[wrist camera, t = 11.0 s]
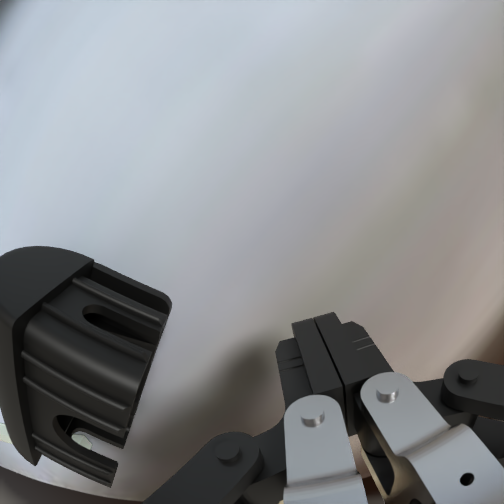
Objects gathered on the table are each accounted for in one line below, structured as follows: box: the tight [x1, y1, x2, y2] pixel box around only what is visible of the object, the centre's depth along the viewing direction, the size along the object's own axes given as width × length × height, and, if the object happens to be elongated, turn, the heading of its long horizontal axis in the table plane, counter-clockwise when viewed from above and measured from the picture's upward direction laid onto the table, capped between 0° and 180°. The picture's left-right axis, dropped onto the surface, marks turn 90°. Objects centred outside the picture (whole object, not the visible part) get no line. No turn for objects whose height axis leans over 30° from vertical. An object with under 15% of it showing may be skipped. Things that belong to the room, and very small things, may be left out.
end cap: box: [0, 246, 172, 488], centre depth 10 cm, size 10×7×7 cm
